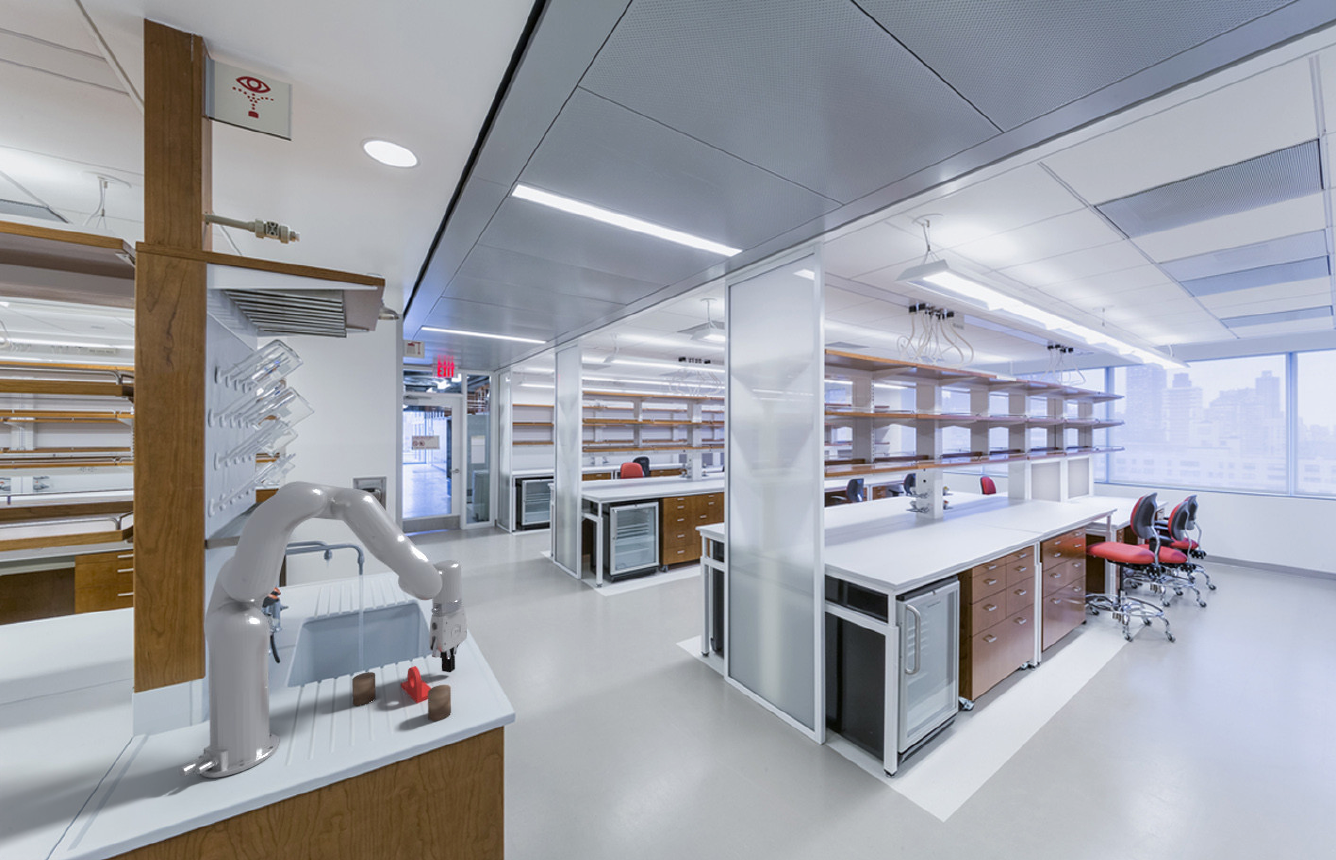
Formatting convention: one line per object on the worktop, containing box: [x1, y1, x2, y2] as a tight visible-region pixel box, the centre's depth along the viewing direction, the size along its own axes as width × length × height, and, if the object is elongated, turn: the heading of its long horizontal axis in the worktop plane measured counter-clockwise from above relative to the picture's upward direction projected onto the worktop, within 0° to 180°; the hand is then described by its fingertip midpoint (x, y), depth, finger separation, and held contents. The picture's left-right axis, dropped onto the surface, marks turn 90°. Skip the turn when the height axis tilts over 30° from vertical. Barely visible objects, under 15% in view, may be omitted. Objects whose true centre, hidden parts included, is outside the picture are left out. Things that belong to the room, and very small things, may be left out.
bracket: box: [400, 666, 432, 704], centre depth 127 cm, size 12×4×8 cm, turn 47°
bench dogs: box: [351, 671, 452, 722], centre depth 119 cm, size 5×29×6 cm, turn 73°
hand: (448, 670), depth 135 cm, fingers closed
